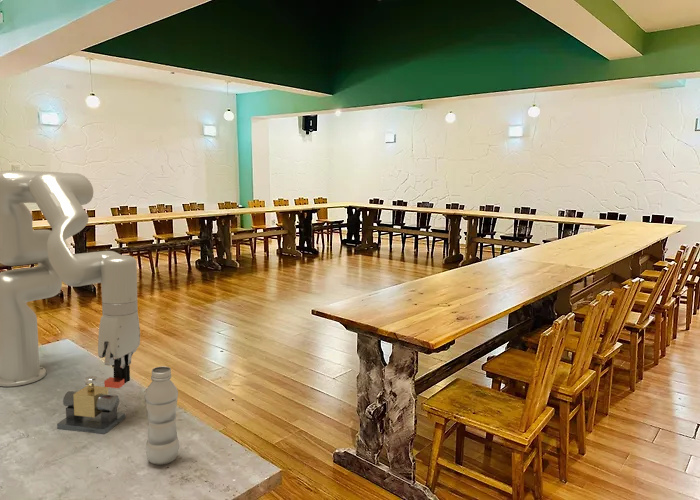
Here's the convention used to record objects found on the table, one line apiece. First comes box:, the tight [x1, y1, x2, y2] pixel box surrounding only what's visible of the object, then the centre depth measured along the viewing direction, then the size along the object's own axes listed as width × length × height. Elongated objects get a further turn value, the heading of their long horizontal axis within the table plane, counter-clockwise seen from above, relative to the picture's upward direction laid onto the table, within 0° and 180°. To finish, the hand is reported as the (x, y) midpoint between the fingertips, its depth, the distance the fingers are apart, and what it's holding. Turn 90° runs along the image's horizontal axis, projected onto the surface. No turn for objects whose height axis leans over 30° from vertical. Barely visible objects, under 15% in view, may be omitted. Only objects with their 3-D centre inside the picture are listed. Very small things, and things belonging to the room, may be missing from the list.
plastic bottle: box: [143, 366, 180, 466], centre depth 101 cm, size 6×7×20 cm
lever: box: [84, 375, 126, 389], centre depth 114 cm, size 9×2×2 cm, turn 83°
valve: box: [56, 384, 126, 435], centre depth 115 cm, size 12×8×10 cm, turn 82°
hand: (121, 381), depth 117 cm, fingers closed
